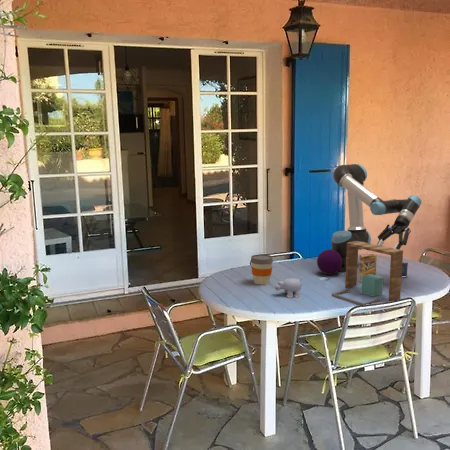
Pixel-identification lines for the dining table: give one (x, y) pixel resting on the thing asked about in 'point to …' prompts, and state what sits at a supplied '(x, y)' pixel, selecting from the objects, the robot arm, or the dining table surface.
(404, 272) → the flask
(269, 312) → the dining table surface
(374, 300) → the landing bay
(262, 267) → the reusable coffee cup
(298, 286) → the hippopotamus toy
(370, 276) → the teal block
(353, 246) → the tunnel
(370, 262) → the candy box
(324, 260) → the toy ball
